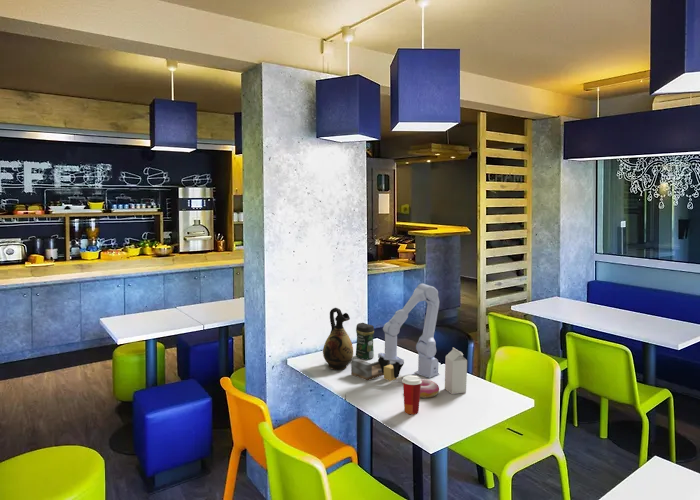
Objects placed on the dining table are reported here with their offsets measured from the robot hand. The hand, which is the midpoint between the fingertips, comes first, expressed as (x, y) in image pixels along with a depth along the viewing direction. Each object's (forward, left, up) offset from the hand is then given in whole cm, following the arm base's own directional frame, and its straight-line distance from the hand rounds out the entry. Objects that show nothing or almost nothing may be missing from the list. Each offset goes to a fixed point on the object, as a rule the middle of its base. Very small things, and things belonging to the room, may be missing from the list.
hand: (390, 375), depth 244 cm
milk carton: (-30, -10, -2) cm, 32 cm away
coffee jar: (+31, -14, -2) cm, 34 cm away
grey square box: (+11, -10, 0) cm, 15 cm away
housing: (0, 0, -2) cm, 2 cm away
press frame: (+11, -2, -2) cm, 11 cm away
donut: (-22, +3, -2) cm, 22 cm away
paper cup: (-31, +22, -2) cm, 38 cm away
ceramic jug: (+30, +7, -2) cm, 31 cm away
